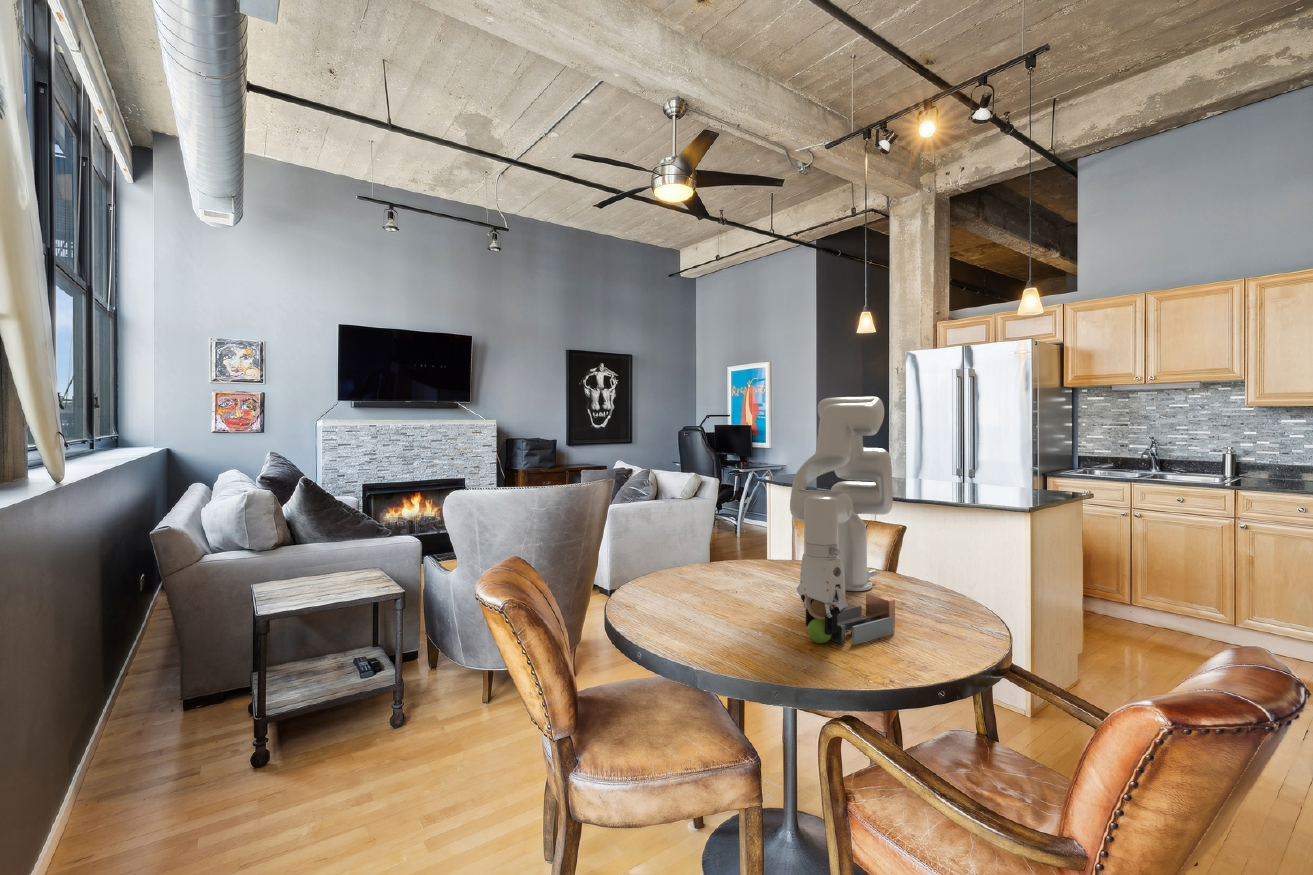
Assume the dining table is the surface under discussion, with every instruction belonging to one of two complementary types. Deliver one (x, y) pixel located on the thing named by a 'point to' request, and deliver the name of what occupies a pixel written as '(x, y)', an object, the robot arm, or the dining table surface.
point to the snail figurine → (817, 620)
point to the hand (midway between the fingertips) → (821, 628)
